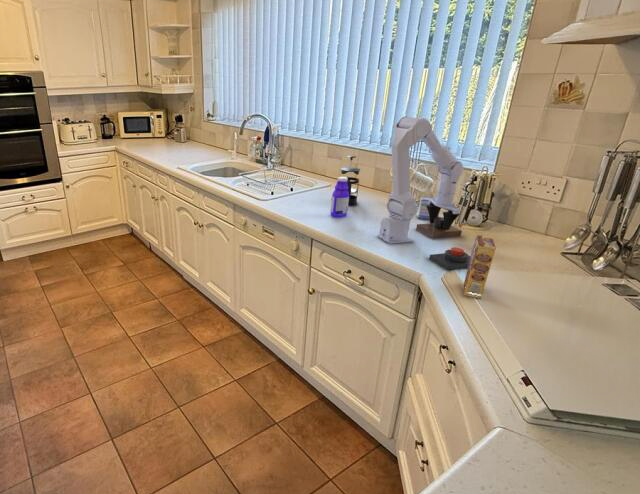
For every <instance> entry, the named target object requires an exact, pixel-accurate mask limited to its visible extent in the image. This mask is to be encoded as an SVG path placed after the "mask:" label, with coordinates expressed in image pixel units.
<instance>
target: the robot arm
mask: <svg viewBox="0 0 640 494" xmlns="http://www.w3.org/2000/svg"><path fill="white" fill-rule="evenodd" d="M393 128H394V133H393V134H394V135H393V138H392V142H391V165H392V167H391V168H392V169H391V170H392V189H393V191H392V192H391V193H390V194H389V195H388V200H387V203H386V210H387V212H388V215H389V216H387V217H384V218H382V220H381V222H380V229H379V234H378V235H377V236H378V238H380V239H381V240H383V241H384V242H386V243H387V244H389V245H390V244H403V243H412V242H413V240H412V239H411V238H409V237H408V236H409V231H410V226H411V220H412V219H413V218H414V217H415V216H416V215H417V214H418V210H419V206H418V205H417V203H416V198H415V196H414V195H413V193H412V192H411V166H410V163H411V162H410V149H411V147H413V146H415V145H416V144H417V143H419V142H420V141H422V142H423V143H424V144H425V146H427V147H428V149H429V150H430V151H431V153H430V157H431V158H432V159H433V161H434V162H435V164H436V165H437V171H438V173H440V177H439V182H438V187H437V192H436V197H428V198H429V201H428V203H429V204H430V205H427V206H426V207H427V209H428V212H429V219H430V220H429V223H434V220H435V217H437V216H438V214H439V215H440V213H439V211H441V209H443V210H445V211H442V215H443V216H442V217H443V218H444V223H443V230H449V229H450V227H451V226H453V223H454V222H455V220H456V219H457V218H458V217H459V216H460V211H461V208H459V207H457V206H456V205H455V203H454V198H455V194H456V190H457V185H458V182H459V181H460V178H461V176H462V175H463V174H464V171H465V168H464V165H463V163H462V162H461V161H460V160H457V157H456V155H454V154H453V153H452V151H451V148H450V146H447V145H442V143H441V142H440V141H439V138H438V137H437V136H436V133H435V132H434V130H433V125H432V124H431V122H430V121H429V119H427V118H420V117H411V116H401V117H400V118H399V120H398V121H397V122H396V123H395V124H394V126H393ZM434 198H436V199H434Z"/></svg>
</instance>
